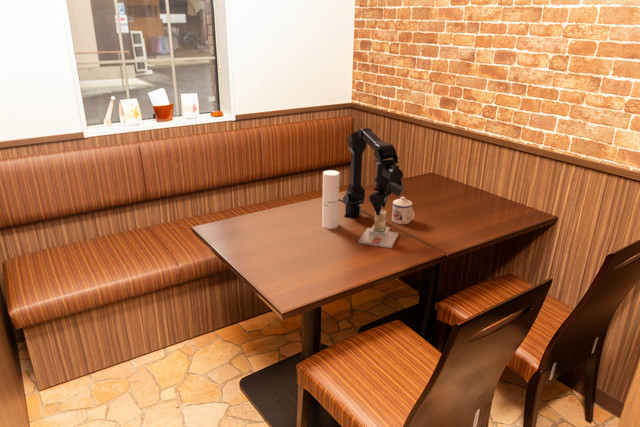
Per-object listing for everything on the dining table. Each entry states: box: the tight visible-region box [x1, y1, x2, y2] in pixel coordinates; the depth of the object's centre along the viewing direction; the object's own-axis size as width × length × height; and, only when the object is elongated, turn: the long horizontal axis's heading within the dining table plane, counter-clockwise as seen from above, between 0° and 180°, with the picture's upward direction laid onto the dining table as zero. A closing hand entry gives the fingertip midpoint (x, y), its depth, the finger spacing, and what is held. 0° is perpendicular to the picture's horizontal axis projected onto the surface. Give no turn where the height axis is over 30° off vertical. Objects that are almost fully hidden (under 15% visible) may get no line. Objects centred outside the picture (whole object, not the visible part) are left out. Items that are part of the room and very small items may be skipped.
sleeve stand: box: [358, 224, 399, 249], centre depth 197 cm, size 14×14×4 cm
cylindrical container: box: [321, 169, 341, 230], centre depth 205 cm, size 7×7×25 cm
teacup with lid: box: [391, 196, 415, 225], centre depth 213 cm, size 12×9×12 cm
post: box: [373, 209, 388, 232], centre depth 195 cm, size 4×4×8 cm
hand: (380, 211), depth 193 cm, fingers open, 9 cm apart
